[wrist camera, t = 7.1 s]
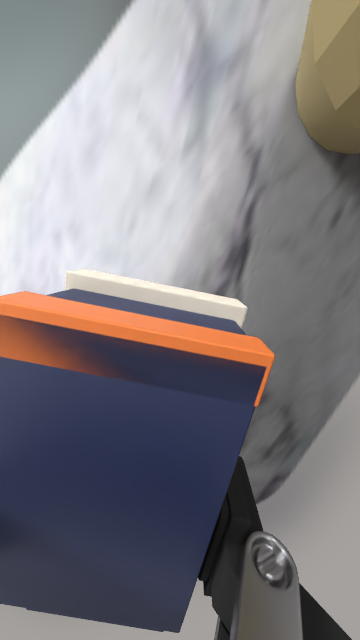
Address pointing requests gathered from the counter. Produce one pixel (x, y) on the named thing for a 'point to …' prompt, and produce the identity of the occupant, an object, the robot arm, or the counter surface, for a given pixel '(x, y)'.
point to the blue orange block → (118, 443)
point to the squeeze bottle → (331, 75)
